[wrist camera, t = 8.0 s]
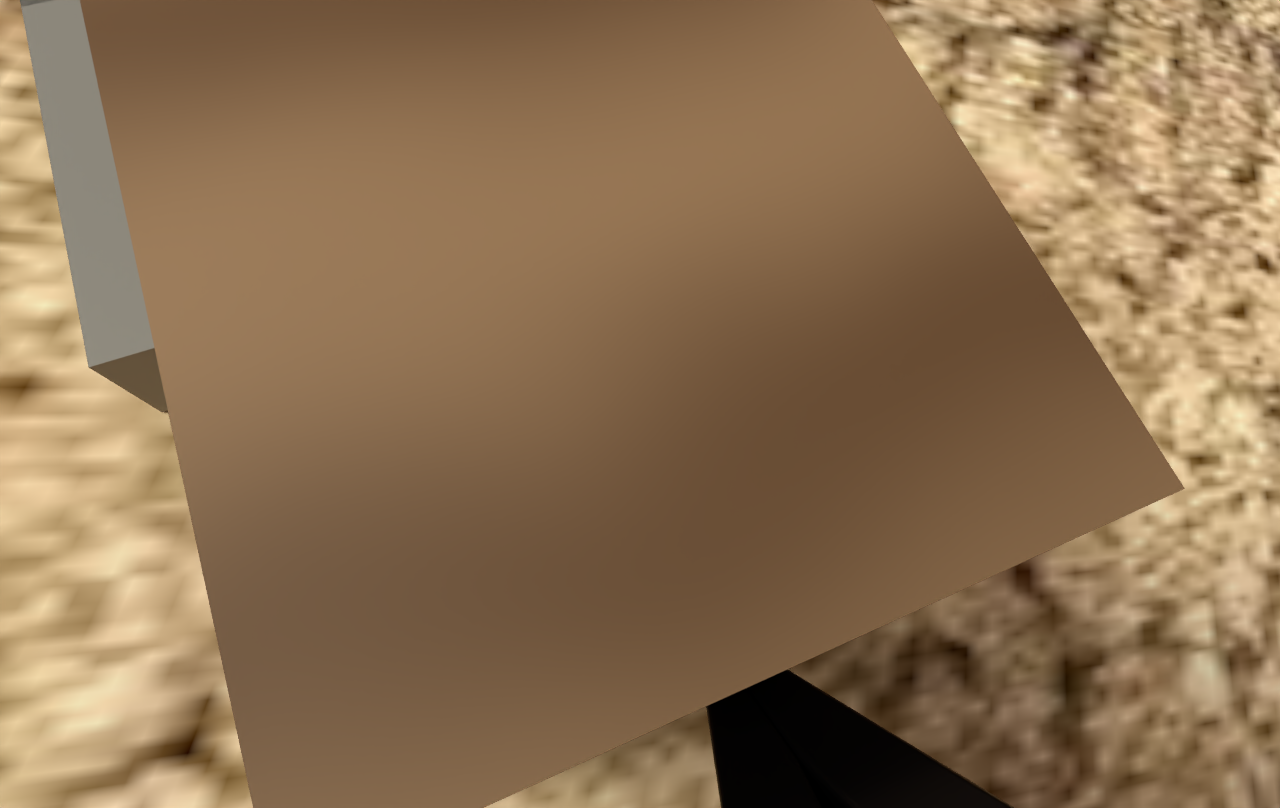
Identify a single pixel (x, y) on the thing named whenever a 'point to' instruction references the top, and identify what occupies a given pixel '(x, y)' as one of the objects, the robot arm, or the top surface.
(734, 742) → the robot arm
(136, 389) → the slate bracket
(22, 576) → the top surface
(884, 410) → the walnut block
